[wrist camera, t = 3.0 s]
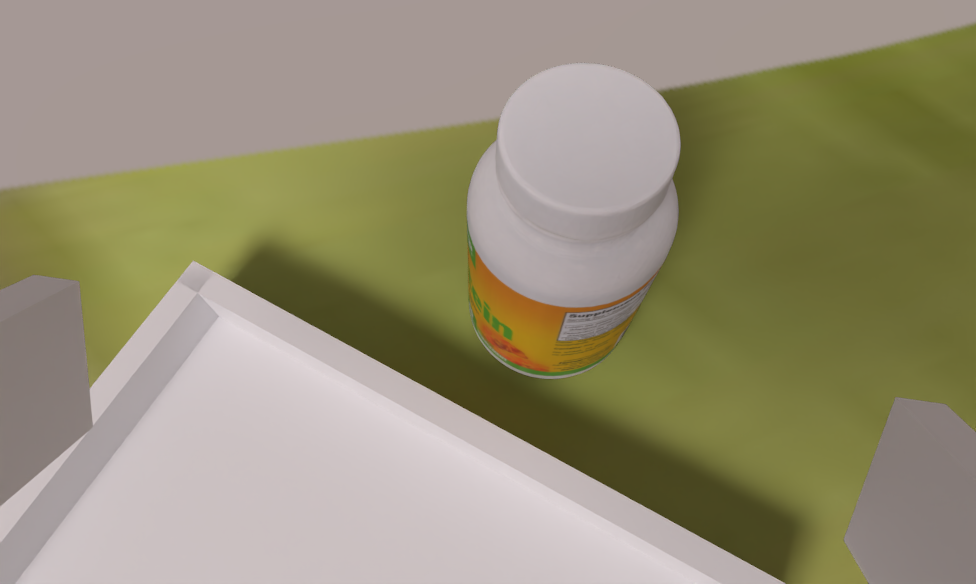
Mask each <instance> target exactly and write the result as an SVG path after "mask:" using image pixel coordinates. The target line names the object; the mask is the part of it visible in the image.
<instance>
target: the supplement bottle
mask: <svg viewBox="0 0 976 584" xmlns="http://www.w3.org/2000/svg"><path fill="white" fill-rule="evenodd" d="M680 149H681V141H680V133H679V128H678V125H677V121H676V118H675V116H674V114H673V112H672V110H671V108H670V107H669V105H668V104H667V102H666V101H665V100H664V98H663V97H662V96H661V95H660V94H659V93H658V92H657V91H656V90H655V89H654V88H653V87H652V86H650V85H649V84H648V83H646V82H645V81H644V80H642V79H640V78H639V77H637V76H635V75H633V74H631V73H629V72H627V71H624V70H622V69H619V68H616V67H612V66H609V65H604V64H596V63H573V64H565V65H560V66H555V67H552V68H549V69H546V70H544V71H542V72H540V73H538V74H536V75H534V76H532V77H531V78H529V79H528V80H527V81H526V82H524V83H523V84H522V85H521V86H519V87H518V88H517V89H516V91H515V92H514V93H513V94H512V95H511V97H510V98H509V100H508V101H507V103H506V105H505V107H504V109H503V111H502V113H501V116H500V120H499V124H498V131H497V140H496V141H495V142H494V143H493V144H492V145H491V146H490V147H489V148H488V149H487V150H486V152H485V153H484V154H483V156H482V157H481V159H480V160H479V162H478V164H477V166H476V168H475V170H474V173H473V175H472V178H471V182H470V185H469V190H468V198H467V233H468V286H469V309H470V315H471V319H472V323H473V326H474V329H475V331H476V333H477V336H478V338H479V339H480V341H481V342H482V344H483V345H484V347H485V348H486V349H487V350H488V351H489V353H490V354H491V355H492V356H494V357H495V358H496V359H497V360H498V361H499V362H501V363H502V364H504V365H505V366H507V367H508V368H510V369H512V370H514V371H516V372H518V373H521V374H524V375H527V376H530V377H535V378H543V379H558V378H566V377H570V376H575V375H578V374H581V373H583V372H585V371H588V370H590V369H591V368H593V367H595V366H596V365H598V364H599V363H601V362H602V361H603V360H604V359H605V358H606V357H607V356H608V355H609V354H610V353H611V352H612V351H613V350H614V348H615V347H616V346H617V344H618V343H619V341H620V340H621V338H622V337H623V335H624V333H625V331H626V330H627V328H628V326H629V324H630V322H631V320H632V319H633V317H634V315H635V313H636V311H637V310H638V308H639V306H640V304H641V302H642V301H643V299H644V297H645V295H646V293H647V291H648V290H649V288H650V286H651V284H652V282H653V281H654V279H655V277H656V275H657V274H658V272H659V270H660V268H661V266H662V265H663V263H664V261H665V259H666V257H667V255H668V253H669V250H670V248H671V246H672V243H673V240H674V238H675V234H676V230H677V224H678V215H679V209H678V198H677V193H676V188H675V185H674V182H673V179H672V177H673V175H674V172H675V170H676V167H677V164H678V161H679V157H680Z"/></svg>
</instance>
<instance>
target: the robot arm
mask: <svg viewBox="0 0 976 584" xmlns="http://www.w3.org/2000/svg"><path fill="white" fill-rule="evenodd" d="M92 428H93V421H92V411H91V400H90V390H89V379H88V369H87V359H86V348H85V338H84V327H83V317H82V306H81V296H80V285H79V281H74V280H66V279H59V278H52V277H45V276H38V275H32V276H30V277H28V278H26V279H24V280H21V281H19V282H17V283H15V284H13V285H11V286H8V287H6V288H4V289H2V290H0V506H1V505H2V504H4V503H5V502H6V501H7V500H8V499H10V498H11V497H12V496H13V495H14V494H15V493H17V492H18V491H19V490H20V489H21V488H22V487H24V486H25V485H26V484H27V483H28V482H29V481H31V480H32V479H33V478H34V477H35V476H37V475H38V474H39V473H40V472H41V471H42V470H44V469H45V468H46V467H47V466H48V465H49V464H51V463H52V462H53V461H54V460H55V459H56V458H58V457H59V456H60V455H61V454H62V453H63V452H65V451H66V450H67V449H68V448H69V447H71V446H72V445H73V444H74V443H75V442H76V441H78V440H79V439H80V438H81V437H82V436H83V435H85V434H86V433H87V432H88V431H89V430H90V429H92ZM844 542H845V543H846V545H847V547H848V549H849V550H850V552H851V554H852V555H853V557H854V559H855V561H856V562H857V564H858V566H859V568H860V569H861V571H862V573H863V574H864V576H865V578H866V580H867V581H868V583H869V584H976V432H975V431H974V430H973V429H972V428H971V427H970V426H968V425H967V424H966V423H965V422H964V421H963V420H962V419H961V418H960V417H959V416H958V415H957V414H956V413H955V412H953V411H952V410H951V409H950V408H949V407H948V406H947V405H946V404H941V403H934V402H926V401H919V400H912V399H905V398H898V397H895V400H894V403H893V406H892V408H891V411H890V414H889V417H888V419H887V422H886V425H885V428H884V430H883V433H882V436H881V438H880V441H879V444H878V447H877V449H876V452H875V455H874V458H873V460H872V463H871V466H870V469H869V471H868V474H867V477H866V480H865V482H864V485H863V488H862V491H861V493H860V496H859V499H858V502H857V504H856V507H855V510H854V513H853V515H852V518H851V521H850V523H849V526H848V529H847V532H846V534H845V537H844Z"/></svg>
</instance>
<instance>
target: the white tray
mask: <svg viewBox="0 0 976 584" xmlns="http://www.w3.org/2000/svg"><path fill="white" fill-rule="evenodd" d="M89 390H90V400H91V411H92V421H93V428H92V429H90V430H89V431H88V432H87V433H86V434H85V435H83V436H82V437H81V438H80V439H79V440H78V441H76V442H75V443H74V444H73V445H72V446H71V447H69V448H68V449H67V450H66V451H65V452H63V453H62V454H61V455H60V456H59V457H58V458H56V459H55V460H54V461H53V462H52V463H51V464H49V465H48V466H47V467H46V468H45V469H44V470H42V471H41V472H40V473H39V474H38V475H37V476H35V477H34V478H33V479H32V480H31V481H29V482H28V483H27V484H26V485H25V486H24V487H22V488H21V489H20V490H19V491H18V492H17V493H15V494H14V495H13V496H12V497H11V498H10V499H8V500H7V501H6V502H5V503H4V504H2V505H1V506H0V584H785V583H784V582H782V581H780V580H778V579H776V578H774V577H773V576H771V575H769V574H767V573H765V572H763V571H762V570H760V569H758V568H756V567H754V566H752V565H751V564H749V563H747V562H745V561H743V560H741V559H740V558H738V557H736V556H734V555H732V554H730V553H729V552H727V551H725V550H723V549H721V548H719V547H718V546H716V545H714V544H712V543H710V542H708V541H707V540H705V539H703V538H701V537H699V536H697V535H696V534H694V533H692V532H690V531H688V530H686V529H685V528H683V527H681V526H679V525H677V524H675V523H674V522H672V521H670V520H668V519H666V518H664V517H663V516H661V515H659V514H657V513H655V512H653V511H652V510H650V509H648V508H646V507H644V506H642V505H640V504H639V503H637V502H635V501H633V500H631V499H629V498H628V497H626V496H624V495H622V494H620V493H618V492H617V491H615V490H613V489H611V488H609V487H607V486H606V485H604V484H602V483H600V482H598V481H596V480H595V479H593V478H591V477H589V476H587V475H585V474H584V473H582V472H580V471H578V470H576V469H574V468H573V467H571V466H569V465H567V464H565V463H563V462H562V461H560V460H558V459H556V458H554V457H552V456H551V455H549V454H547V453H545V452H543V451H541V450H540V449H538V448H536V447H534V446H532V445H530V444H529V443H527V442H525V441H523V440H521V439H519V438H518V437H516V436H514V435H512V434H510V433H508V432H507V431H505V430H503V429H501V428H499V427H497V426H496V425H494V424H492V423H490V422H488V421H486V420H485V419H483V418H481V417H479V416H477V415H475V414H474V413H472V412H470V411H468V410H466V409H464V408H463V407H461V406H459V405H457V404H455V403H453V402H452V401H450V400H448V399H446V398H444V397H442V396H441V395H439V394H437V393H435V392H433V391H431V390H430V389H428V388H426V387H424V386H422V385H420V384H419V383H417V382H415V381H413V380H411V379H409V378H408V377H406V376H404V375H402V374H400V373H398V372H397V371H395V370H393V369H391V368H389V367H387V366H386V365H384V364H382V363H380V362H378V361H376V360H375V359H373V358H371V357H369V356H367V355H365V354H364V353H362V352H360V351H358V350H356V349H354V348H353V347H351V346H349V345H347V344H345V343H343V342H342V341H340V340H338V339H336V338H334V337H332V336H331V335H329V334H327V333H325V332H323V331H321V330H320V329H318V328H316V327H314V326H312V325H310V324H308V323H307V322H305V321H303V320H301V319H299V318H297V317H296V316H294V315H292V314H290V313H288V312H286V311H285V310H283V309H281V308H279V307H277V306H275V305H274V304H272V303H270V302H268V301H266V300H264V299H263V298H261V297H259V296H257V295H255V294H253V293H252V292H250V291H248V290H246V289H244V288H242V287H241V286H239V285H237V284H235V283H233V282H231V281H230V280H228V279H226V278H224V277H222V276H220V275H219V274H217V273H215V272H213V271H211V270H209V269H208V268H206V267H204V266H202V265H200V264H198V263H197V262H195V261H193V262H192V263H191V264H190V265H189V267H188V268H187V269H186V270H185V272H184V273H183V274H182V275H181V277H180V278H179V279H178V280H177V281H176V283H175V284H174V285H173V286H172V288H171V289H170V290H169V291H168V293H167V294H166V295H165V296H164V298H163V299H162V300H161V301H160V303H159V304H158V305H157V306H156V307H155V309H154V310H153V311H152V312H151V314H150V315H149V316H148V317H147V319H146V320H145V321H144V322H143V324H142V325H141V326H140V327H139V328H138V330H137V331H136V332H135V333H134V335H133V336H132V337H131V338H130V340H129V341H128V342H127V343H126V345H125V346H124V347H123V348H122V349H121V351H120V352H119V353H118V354H117V356H116V357H115V358H114V359H113V361H112V362H111V363H110V364H109V366H108V367H107V368H106V369H105V371H104V372H103V373H102V374H101V375H100V377H99V378H98V379H97V380H96V382H95V383H94V384H93V385H92V387H91V388H90V389H89Z"/></svg>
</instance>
